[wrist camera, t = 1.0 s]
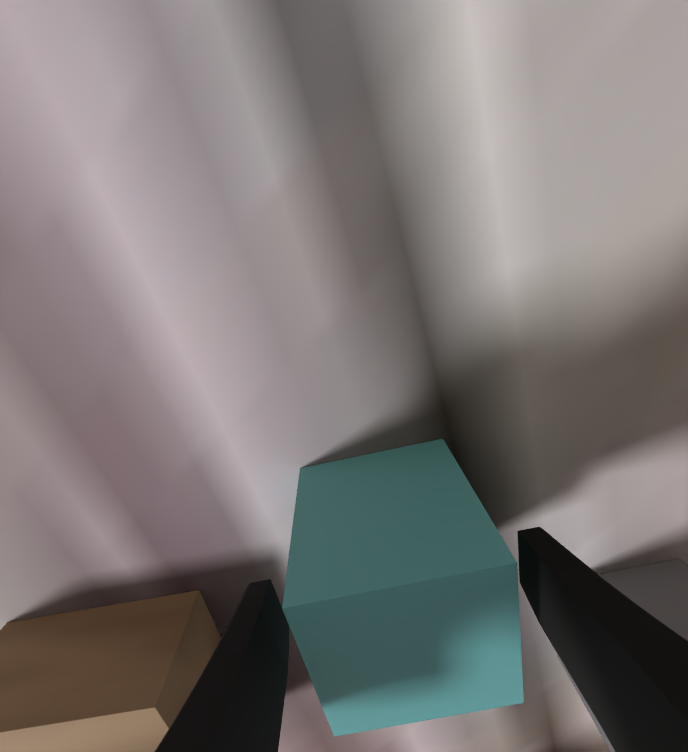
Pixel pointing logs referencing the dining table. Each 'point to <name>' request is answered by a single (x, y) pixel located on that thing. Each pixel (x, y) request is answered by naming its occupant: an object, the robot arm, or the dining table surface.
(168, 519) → the dining table surface
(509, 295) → the dining table surface
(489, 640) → the teal cube
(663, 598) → the gray cube
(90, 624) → the base block
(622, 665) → the robot arm
